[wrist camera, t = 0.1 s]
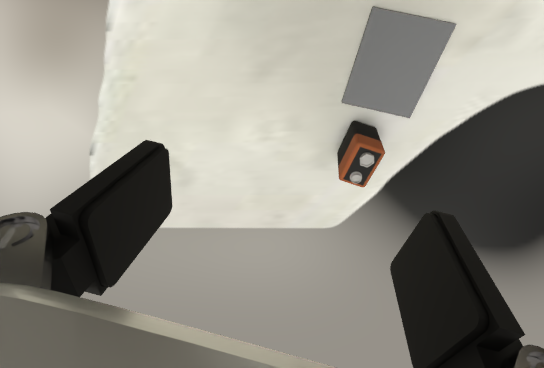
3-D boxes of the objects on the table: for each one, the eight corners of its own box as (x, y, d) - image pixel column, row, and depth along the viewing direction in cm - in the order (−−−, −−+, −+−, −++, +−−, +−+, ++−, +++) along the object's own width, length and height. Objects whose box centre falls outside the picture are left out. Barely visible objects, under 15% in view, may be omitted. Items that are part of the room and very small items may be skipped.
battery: (377, 127, 44) (388, 155, 36) (359, 160, 48) (365, 192, 40) (352, 119, 44) (357, 145, 36) (336, 153, 48) (337, 183, 40)
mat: (372, 6, 35) (373, 6, 35) (455, 23, 35) (456, 23, 34) (341, 101, 43) (341, 102, 42) (408, 117, 42) (409, 118, 42)
